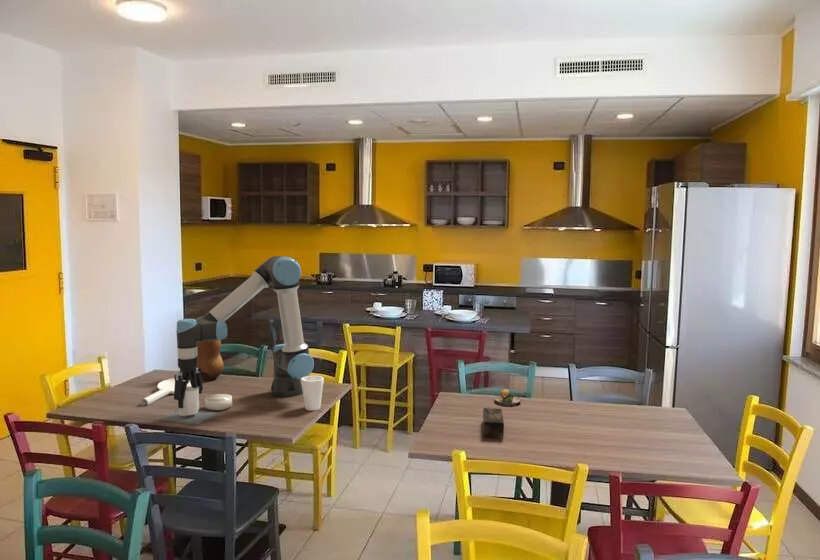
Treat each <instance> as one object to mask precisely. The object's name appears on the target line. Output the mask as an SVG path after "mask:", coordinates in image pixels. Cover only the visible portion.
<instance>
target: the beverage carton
mask: <svg viewBox="0 0 820 560" xmlns="http://www.w3.org/2000/svg"><path fill="white" fill-rule="evenodd" d="M482 410H483V411H482V437H483V438H490V439H491V438H493V439H504V437H505V436H504V433H505V423H504V422H505V421H504V414H503V408H497V407H496V408H495V407H494V408H492V407H489V406H488V407H483V409H482Z"/></svg>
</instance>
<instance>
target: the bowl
mask: <svg viewBox="0 0 820 560" xmlns="http://www.w3.org/2000/svg"><path fill="white" fill-rule="evenodd" d="M204 406H205V408H206V409H207V410H210V411H223V410H226V409H228V408H231V407H232V406H233V396H232V395H231V394H230V393H229V394H228V393H215V394H211V395H210V394H209V395H208V396H206V397H204Z"/></svg>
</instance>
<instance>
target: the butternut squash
mask: <svg viewBox="0 0 820 560" xmlns="http://www.w3.org/2000/svg"><path fill="white" fill-rule="evenodd" d="M221 341H222V339H221V340H212V341H201V342H197V356H196V357H197V360H198V365H197V367H196V368H201V378H202V379H203V378H204V379H206V380H211V381H213V380H214V379H216V378H218V377H219V376H220V375H222V372H223V370H224V365H225V364H224V361H223V358H222V355H221V349H222V342H221Z"/></svg>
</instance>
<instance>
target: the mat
mask: <svg viewBox="0 0 820 560" xmlns="http://www.w3.org/2000/svg"><path fill="white" fill-rule="evenodd" d="M219 414H220V412H217V411H216V412H215V411H214V412H213V411H205V410H200V409H199V410H198V413H196V414H193V415H186V416H180V415H179V409H178V410H176V411H174V412H172V413H170V414H167V415H165V416H163V417H160V418H159V421H160V422H170V423H175V424H176V423H177V424H186V425H193V426H198V425H200V424H202V423H204V422H207V421H208V420H210V419H213V418H215V417H216V416H218V415H219Z"/></svg>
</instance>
